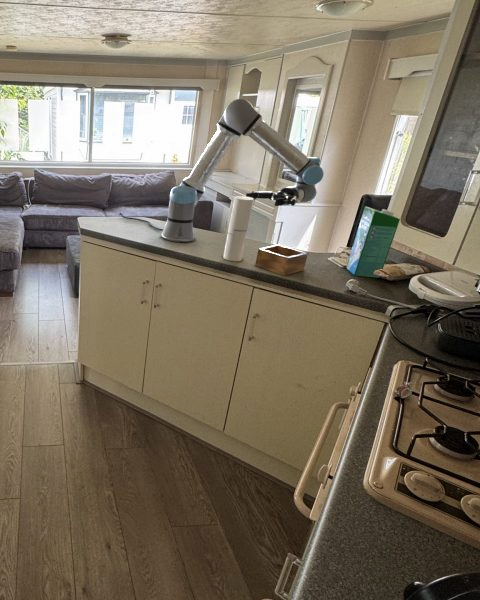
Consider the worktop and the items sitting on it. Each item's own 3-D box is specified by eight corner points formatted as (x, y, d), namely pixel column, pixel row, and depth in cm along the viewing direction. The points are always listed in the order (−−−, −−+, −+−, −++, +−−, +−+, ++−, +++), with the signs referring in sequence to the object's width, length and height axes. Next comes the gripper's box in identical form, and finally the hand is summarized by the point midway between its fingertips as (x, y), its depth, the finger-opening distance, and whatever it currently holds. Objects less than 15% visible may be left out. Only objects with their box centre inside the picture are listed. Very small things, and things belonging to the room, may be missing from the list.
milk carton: (379, 278, 163) (402, 212, 153) (354, 275, 165) (374, 210, 155) (370, 270, 171) (391, 207, 161) (345, 267, 173) (365, 205, 163)
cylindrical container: (238, 262, 174) (251, 200, 164) (221, 258, 178) (232, 197, 167) (243, 257, 180) (255, 197, 170) (225, 254, 183) (236, 195, 173)
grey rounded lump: (403, 392, 95) (410, 377, 93) (411, 399, 93) (418, 383, 91) (390, 392, 94) (397, 377, 93) (398, 399, 92) (404, 383, 91)
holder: (254, 265, 171) (258, 248, 168) (273, 260, 178) (277, 244, 175) (284, 275, 161) (289, 258, 159) (303, 270, 168) (308, 253, 165)
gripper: (315, 209, 179) (286, 214, 167) (263, 199, 197) (233, 203, 186) (320, 191, 176) (291, 195, 164) (266, 182, 194) (237, 185, 183)
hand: (260, 199), depth 175 cm, fingers open, 13 cm apart
